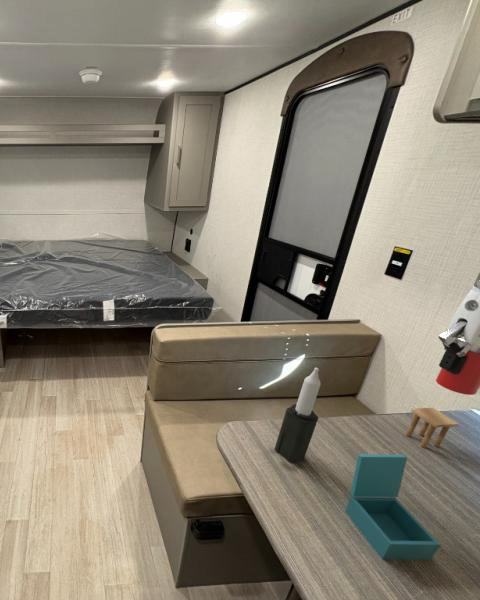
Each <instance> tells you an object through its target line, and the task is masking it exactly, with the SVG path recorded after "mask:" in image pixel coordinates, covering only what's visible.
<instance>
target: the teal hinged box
mask: <svg viewBox="0 0 480 600" xmlns="http://www.w3.org/2000/svg"><path fill="white" fill-rule="evenodd" d="M344 512H345V514H346V515H347V516H348V517H349V518H350V520H351V521H352V522H353V524H354V525H355V526H356V528H357V529H358V530H359V531H360V532H361V534H362V535H363V536H364V537H365V539H366V540H367V541H368V543H369V544H370V545H371V546H372V548H373V549H374V551H375V552H376V553H377V554H378V556H379V557H380V558H381V559H382V560H432V559H433V557H434V556H435V554H436V552H438V549H439V548H440V546H441V543H440V542H439V541H438V540H437V539H436V538H435V537H434V536H433V535H432V534H431V533H430V532H429V531H428V530H427V529H426V528H425V527H424V526H423V525H422V524H421V523H420V522H419V521H418V519H416V517H415V516H414V515H412V513H411V512H410V511H409V510H408V509H407V508H406V507H405V506H404V505H403V504H402V503H401V502H400V501H399V500H398V499H397V497H353V496H351V497H350V499H349V501H348V503H347V505H346V508H345V510H344Z"/></svg>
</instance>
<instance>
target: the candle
mask: <svg viewBox="0 0 480 600" xmlns="http://www.w3.org/2000/svg"><path fill="white" fill-rule="evenodd" d="M319 371H320V369H319V368H318V367H314V369H313V371H312V372H311V373H310V375H308V376H306V377H305V378H304V379H303V380H304V381H303V383H302V386H301V389H300V392H299V395H298V399H297V402H296V404H295V403H294V404H292V405H291V406H289V407H287V408H286V410H285V413H284V416H283V419H282V422H281V425H280V430H279V433H278V436H277V439H276V443H275V447H274V451H275V452H276V453H278V454H279V455H280V456H281V457H282V458H284V459H285V460H286V461H287V462H288V463H290V464H293V465H295V464H297V463H299V462H301V461H303V460H305V457H306V454H307V452H308V449H309V446H310V443H311V441H312V437H313V434H314V432H315V429H316V426H317V423H318V420H319V416H318V415H317V414H316V413H315V412H314V410H313V408H314V407H315V402H316V400H317V397H318V393H319V392H320V391H319V390H320V387H321V380H320V378H319Z"/></svg>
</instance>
